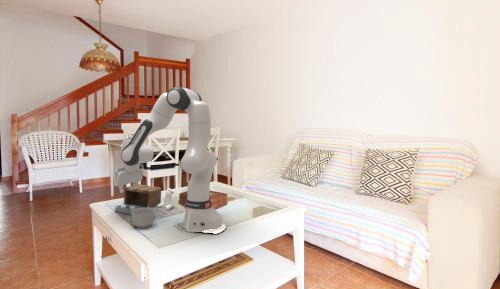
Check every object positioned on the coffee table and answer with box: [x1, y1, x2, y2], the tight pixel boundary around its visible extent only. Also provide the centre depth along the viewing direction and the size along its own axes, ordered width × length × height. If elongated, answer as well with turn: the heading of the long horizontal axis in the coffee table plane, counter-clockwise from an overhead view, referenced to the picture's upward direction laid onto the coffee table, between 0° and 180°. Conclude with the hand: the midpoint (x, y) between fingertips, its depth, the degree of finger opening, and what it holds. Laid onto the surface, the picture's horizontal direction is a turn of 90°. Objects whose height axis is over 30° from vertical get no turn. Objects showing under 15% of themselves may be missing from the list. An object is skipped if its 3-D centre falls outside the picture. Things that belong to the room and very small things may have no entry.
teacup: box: [131, 206, 156, 229], centre depth 144 cm, size 14×11×8 cm
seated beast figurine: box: [156, 187, 175, 212], centre depth 175 cm, size 10×9×12 cm
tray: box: [114, 203, 141, 216], centre depth 162 cm, size 12×6×4 cm, turn 74°
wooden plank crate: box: [123, 183, 162, 208], centre depth 178 cm, size 18×12×10 cm, turn 74°
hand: (127, 191), depth 161 cm, fingers open, 8 cm apart
